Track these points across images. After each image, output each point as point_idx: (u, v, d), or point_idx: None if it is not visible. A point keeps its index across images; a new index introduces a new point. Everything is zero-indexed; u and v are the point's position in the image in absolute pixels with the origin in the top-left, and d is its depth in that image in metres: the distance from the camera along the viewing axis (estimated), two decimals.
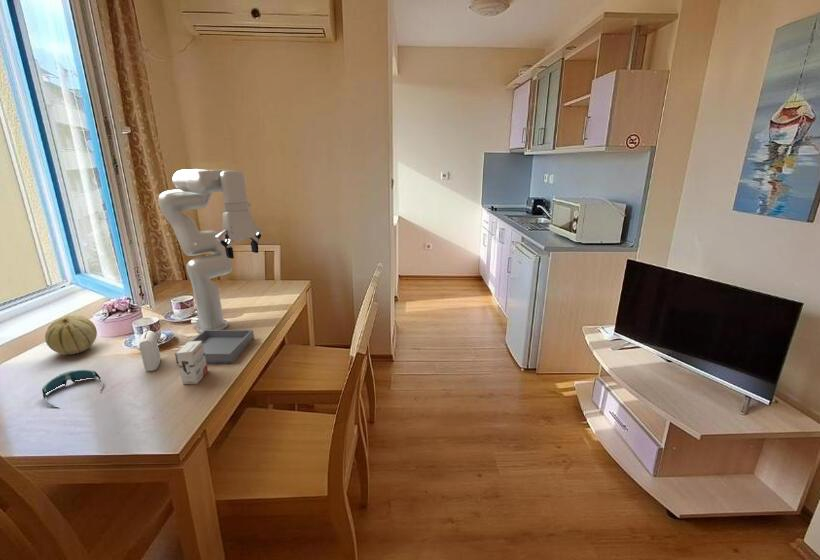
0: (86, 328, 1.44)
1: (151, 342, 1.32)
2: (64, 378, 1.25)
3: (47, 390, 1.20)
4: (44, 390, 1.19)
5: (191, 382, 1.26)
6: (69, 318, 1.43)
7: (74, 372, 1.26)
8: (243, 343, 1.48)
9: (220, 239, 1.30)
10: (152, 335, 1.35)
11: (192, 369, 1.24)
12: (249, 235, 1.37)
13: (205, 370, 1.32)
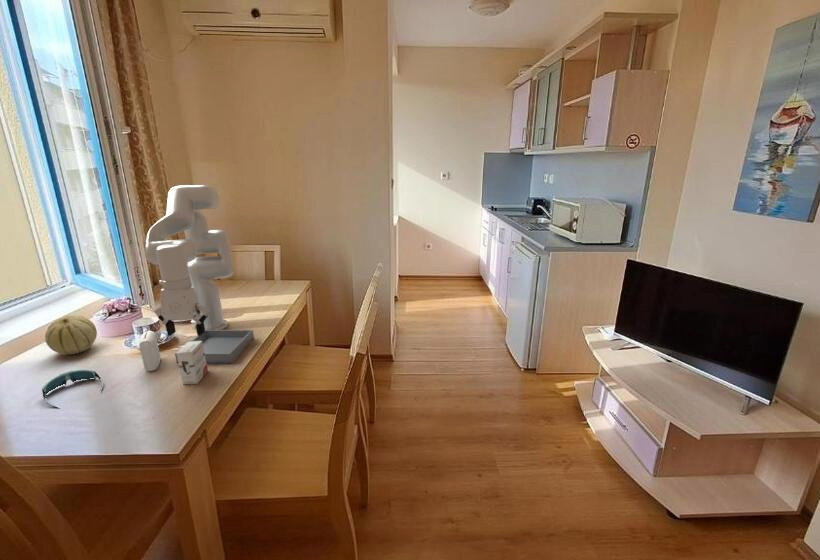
0: (86, 328, 1.44)
1: (151, 342, 1.32)
2: (64, 378, 1.25)
3: (47, 390, 1.20)
4: (44, 390, 1.18)
5: (191, 382, 1.26)
6: (69, 318, 1.43)
7: (74, 372, 1.26)
8: (243, 343, 1.48)
9: None
10: (152, 335, 1.35)
11: (192, 369, 1.24)
12: None
13: (205, 370, 1.32)
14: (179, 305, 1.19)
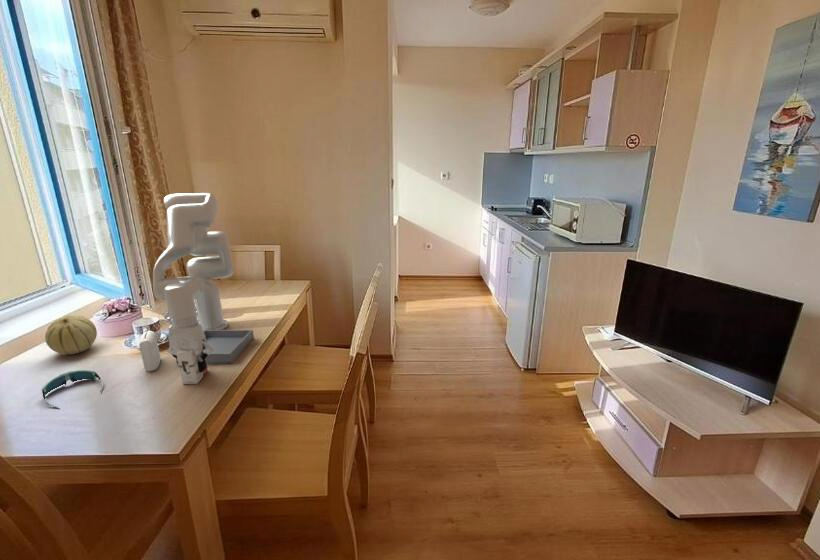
0: (86, 328, 1.44)
1: (151, 342, 1.32)
2: (64, 378, 1.24)
3: (47, 391, 1.20)
4: (44, 391, 1.18)
5: (191, 382, 1.26)
6: (69, 318, 1.43)
7: (74, 372, 1.26)
8: (243, 343, 1.48)
9: None
10: (152, 335, 1.35)
11: (192, 369, 1.24)
12: None
13: (205, 370, 1.32)
14: (187, 342, 1.23)
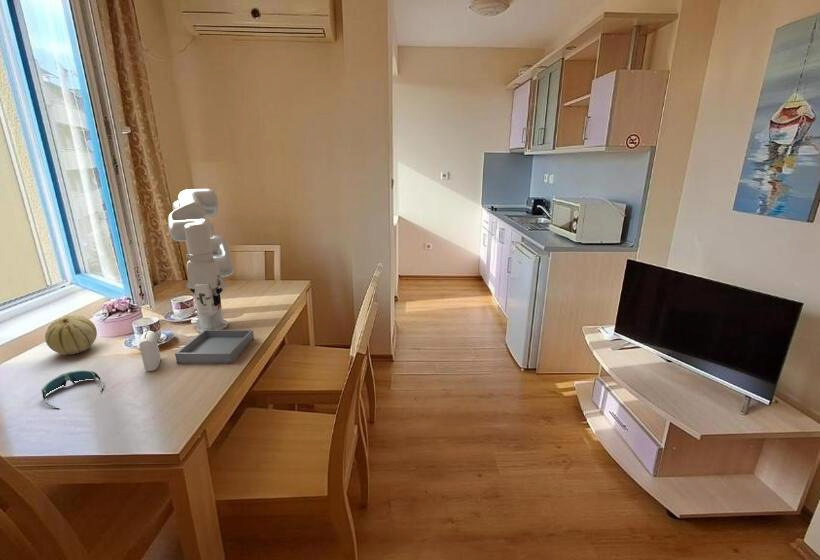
0: (86, 328, 1.44)
1: (151, 342, 1.32)
2: (64, 379, 1.24)
3: (47, 391, 1.20)
4: (44, 391, 1.18)
5: (207, 314, 1.39)
6: (69, 318, 1.43)
7: (74, 373, 1.26)
8: (243, 343, 1.48)
9: None
10: (152, 335, 1.35)
11: (208, 301, 1.38)
12: None
13: (219, 305, 1.45)
14: (204, 276, 1.36)
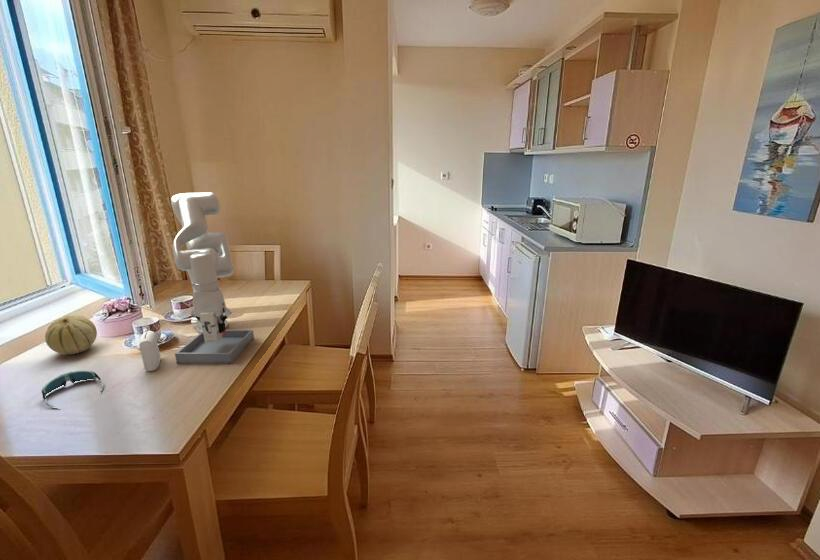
0: (86, 328, 1.44)
1: (151, 342, 1.32)
2: (63, 379, 1.24)
3: (46, 391, 1.20)
4: (44, 391, 1.18)
5: (212, 341, 1.42)
6: (69, 318, 1.43)
7: (74, 373, 1.26)
8: (243, 343, 1.48)
9: None
10: (152, 335, 1.35)
11: (213, 329, 1.41)
12: None
13: (224, 332, 1.48)
14: (209, 304, 1.39)
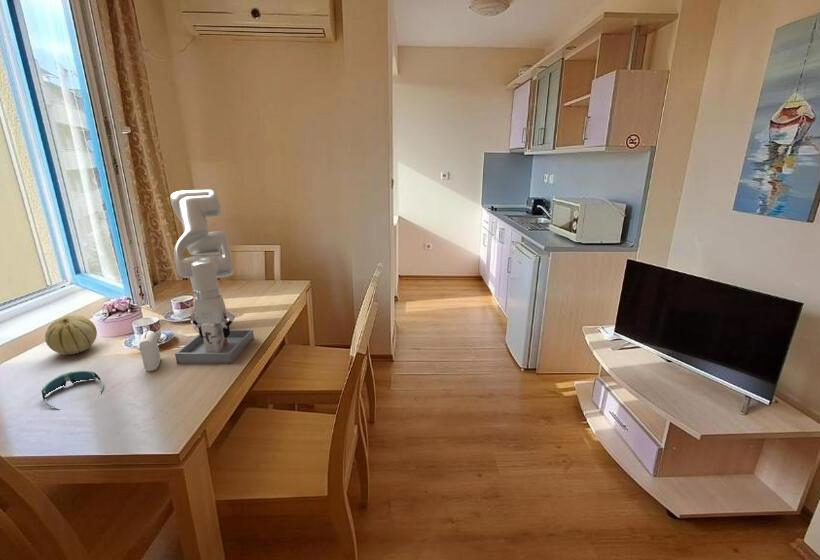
0: (86, 328, 1.44)
1: (151, 342, 1.32)
2: (63, 379, 1.24)
3: (46, 391, 1.20)
4: (43, 391, 1.18)
5: (213, 351, 1.44)
6: (69, 318, 1.43)
7: (73, 373, 1.25)
8: (243, 343, 1.48)
9: None
10: (152, 335, 1.35)
11: (214, 339, 1.42)
12: None
13: (225, 342, 1.50)
14: (210, 311, 1.40)
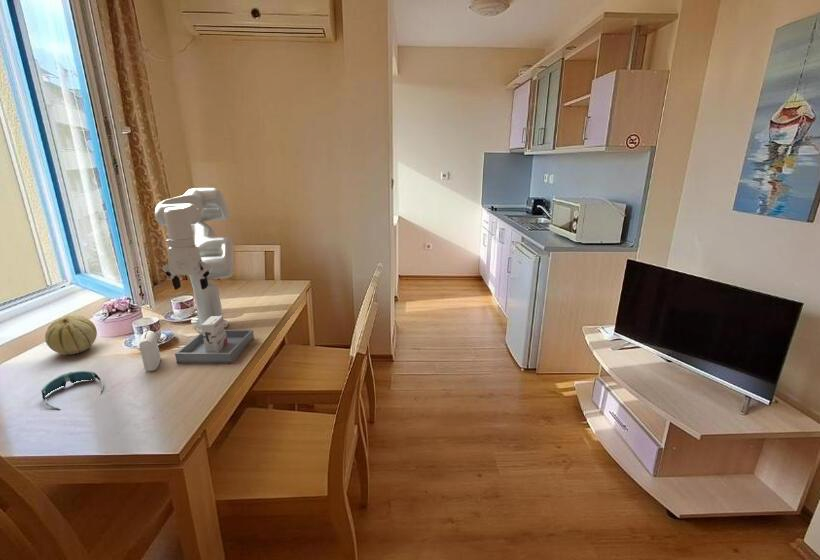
0: (86, 328, 1.44)
1: (151, 342, 1.32)
2: (63, 379, 1.24)
3: (46, 392, 1.19)
4: (43, 392, 1.18)
5: (213, 351, 1.44)
6: (69, 318, 1.43)
7: (73, 373, 1.25)
8: (243, 343, 1.48)
9: None
10: (152, 335, 1.35)
11: (214, 339, 1.42)
12: None
13: (225, 342, 1.50)
14: (185, 261, 1.34)
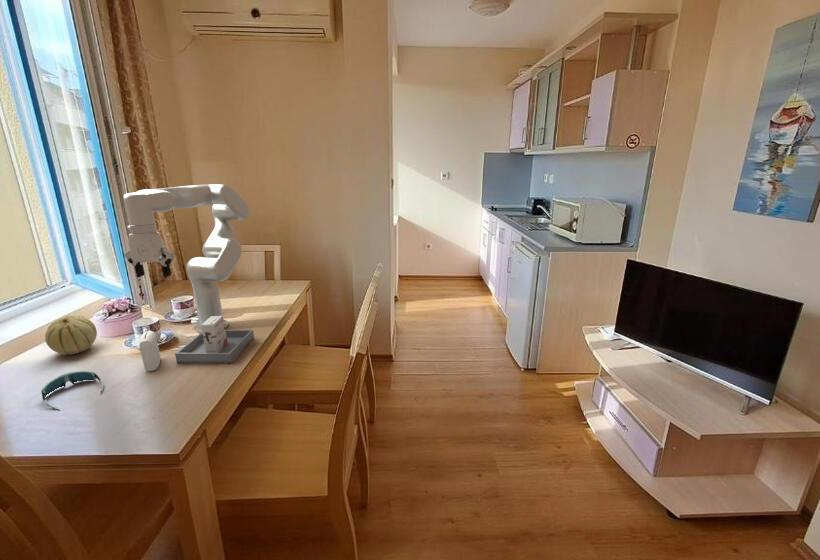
0: (86, 328, 1.44)
1: (151, 342, 1.32)
2: (63, 380, 1.24)
3: (46, 392, 1.19)
4: (43, 392, 1.18)
5: (213, 351, 1.44)
6: (69, 318, 1.43)
7: (73, 374, 1.25)
8: (243, 343, 1.48)
9: None
10: (152, 335, 1.35)
11: (214, 339, 1.42)
12: None
13: (225, 342, 1.50)
14: (146, 248, 1.32)
